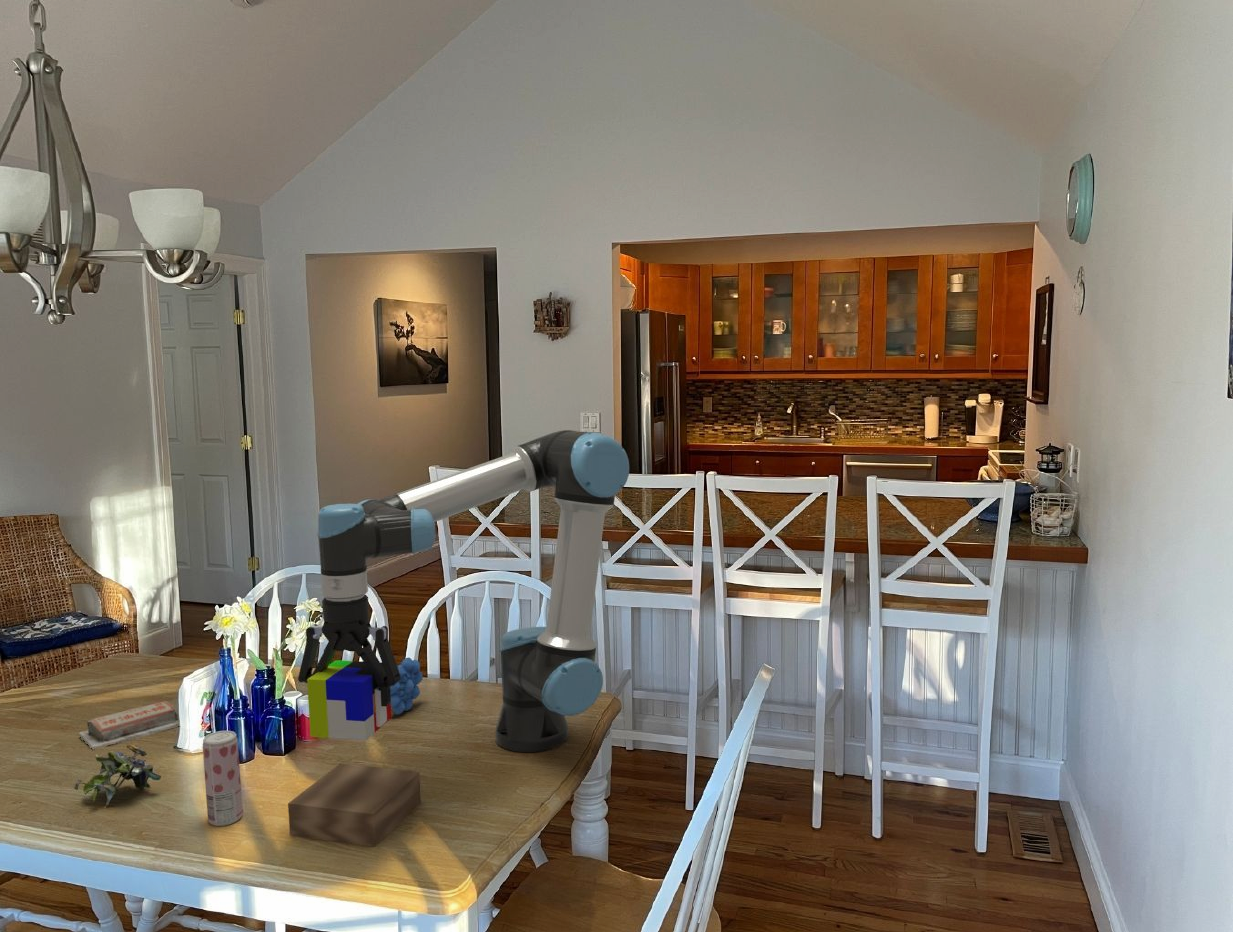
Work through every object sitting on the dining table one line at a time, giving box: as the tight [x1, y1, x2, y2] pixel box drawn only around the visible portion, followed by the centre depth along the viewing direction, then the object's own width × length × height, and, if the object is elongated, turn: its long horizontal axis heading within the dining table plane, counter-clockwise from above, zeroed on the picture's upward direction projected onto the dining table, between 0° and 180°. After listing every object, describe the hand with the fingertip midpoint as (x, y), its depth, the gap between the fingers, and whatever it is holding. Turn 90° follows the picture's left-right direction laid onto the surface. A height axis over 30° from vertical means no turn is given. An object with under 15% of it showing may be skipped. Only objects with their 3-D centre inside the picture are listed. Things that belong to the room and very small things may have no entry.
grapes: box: [390, 657, 424, 715], centre depth 214 cm, size 12×7×12 cm, turn 155°
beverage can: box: [202, 730, 244, 827], centre depth 165 cm, size 6×6×15 cm
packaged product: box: [78, 700, 179, 750], centre depth 206 cm, size 18×5×10 cm
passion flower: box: [74, 744, 162, 808], centre depth 174 cm, size 11×11×12 cm
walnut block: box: [287, 763, 422, 847], centre depth 165 cm, size 16×16×6 cm
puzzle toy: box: [306, 659, 392, 741], centre depth 163 cm, size 10×10×10 cm
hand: (351, 722), depth 163 cm, fingers closed on puzzle toy, 10 cm apart
